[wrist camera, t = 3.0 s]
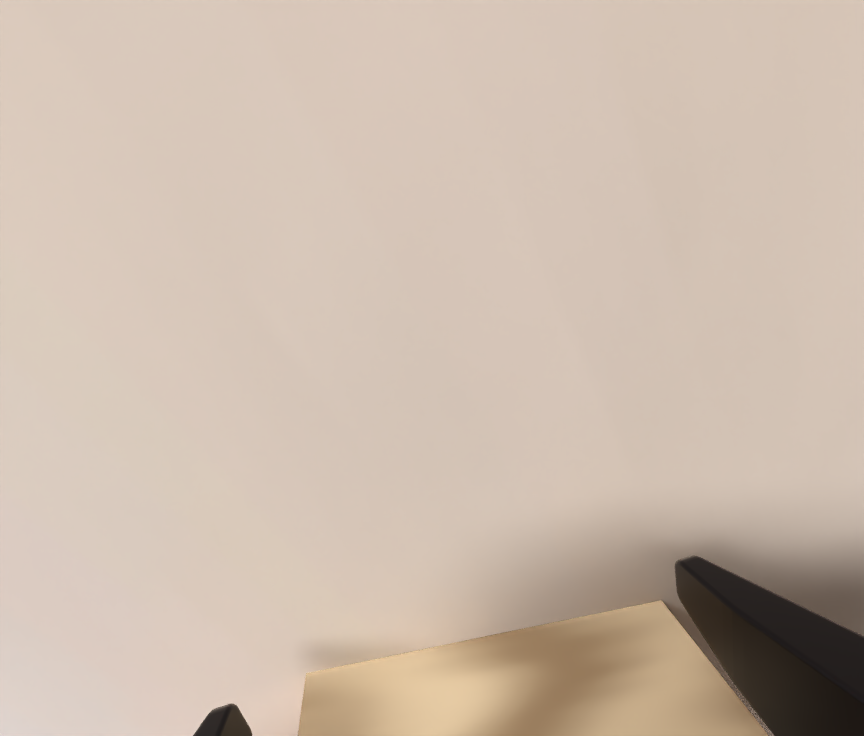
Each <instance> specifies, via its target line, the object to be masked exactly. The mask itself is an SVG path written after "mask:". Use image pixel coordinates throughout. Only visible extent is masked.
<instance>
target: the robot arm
mask: <svg viewBox="0 0 864 736" xmlns="http://www.w3.org/2000/svg"><path fill="white" fill-rule="evenodd" d="M675 574H676V586H677V593H678V596H679V599H680V601H681V603H682V604H683V606H684V607H685V609H686V610H687V612H688V614H689V615H690V617H691V618H692V620H693V621H694V623H695V624H696V626H697V627H698V629H699V631H700V632H701V634H702V635H703V637H704V638H705V640H706V641H707V643H708V644H709V646H710V647H711V649H712V651H713V652H714V654H715V655H716V657H717V658H718V660H719V661H720V663H721V664H722V666H723V667H724V669H725V670H726V672H727V673H728V675H729V676H730V678H731V679H732V681H733V682H734V684H735V685H736V686H737V688H738V689H739V690H740V692H741V693H742V694H743V696H744V697H745V698H746V700H747V701H748V702H749V703H750V705H751V706H752V707H753V709H754V710H755V711H756V712H757V714H758V715H759V716H760V718H761V719H762V720H763V721H764V723H765V724H766V725H767V727H768V728H769V729H770V730H771V732H772V733H773V734H774V736H864V636H862V635H860V634H858V633H856V632H853V631H851V630H849V629H847V628H845V627H843V626H841V625H839V624H837V623H835V622H833V621H831V620H829V619H827V618H825V617H822V616H820V615H818V614H816V613H814V612H812V611H810V610H808V609H806V608H804V607H802V606H800V605H798V604H796V603H794V602H792V601H789V600H787V599H785V598H783V597H781V596H779V595H777V594H775V593H773V592H771V591H769V590H767V589H765V588H763V587H761V586H759V585H756V584H754V583H752V582H750V581H748V580H746V579H744V578H742V577H740V576H738V575H736V574H734V573H732V572H730V571H728V570H725V569H723V568H721V567H719V566H717V565H715V564H713V563H711V562H709V561H707V560H705V559H703V558H701V557H698V556H689V557H686V558H683V559H680V560H678V561H676V563H675ZM193 736H252V732H251V729H250V727H249V726H248V724H247V722H246V720H245V719H244V717H243V715H242V714H241V712H240V710H239V708H238V707H237V706H236V705H235V704H228V705H225V706H222V707H218V708H216V709H214V710H212V711H211V712H210V713H209V714H208V715H207V717H206V718H205V720H204V721H203V722H202V724H201V725H200V727H199V728H198V730H197V731H196V732H195V734H194V735H193Z"/></svg>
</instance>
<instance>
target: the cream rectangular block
mask: <svg viewBox="0 0 864 736" xmlns="http://www.w3.org/2000/svg"><path fill="white" fill-rule="evenodd" d="M298 736H769V735H768V734H767V733H766V732H765V730H764V729H763V728H762V727H761V725H760V724H759V723H758V722H757V720H756V719H755V718H754V717H753V715H752V714H751V713H750V711H749V710H748V709H747V708H746V706H745V705H744V704H743V703H742V701H741V700H740V699H739V698H738V696H737V695H736V694H735V693H734V691H733V690H732V689H731V688H730V686H729V685H728V684H727V682H726V681H725V680H724V679H723V677H722V676H721V675H720V674H719V672H718V671H717V670H716V669H715V667H714V666H713V665H712V664H711V662H710V661H709V660H708V658H707V657H706V656H705V655H704V653H703V652H702V651H701V650H700V648H699V647H698V646H697V645H696V643H695V642H694V641H693V640H692V638H691V637H690V636H689V634H688V633H687V632H686V631H685V629H684V628H683V627H682V626H681V624H680V623H679V622H678V621H677V619H676V618H675V617H674V616H673V614H672V613H671V612H670V611H669V609H668V608H667V607H666V605H665V604H664V603H663V602H662V600H660V601H655V602H650V603H646V604H641V605H636V606H631V607H626V608H621V609H616V610H612V611H607V612H602V613H597V614H592V615H587V616H582V617H578V618H573V619H568V620H563V621H558V622H553V623H548V624H544V625H539V626H534V627H529V628H524V629H519V630H515V631H510V632H505V633H500V634H495V635H490V636H485V637H481V638H476V639H471V640H466V641H461V642H456V643H451V644H447V645H442V646H437V647H432V648H427V649H422V650H417V651H413V652H408V653H403V654H398V655H393V656H388V657H383V658H379V659H374V660H369V661H364V662H359V663H354V664H349V665H345V666H340V667H335V668H330V669H325V670H320V671H315V672H311V673H306V679H305V686H304V694H303V701H302V708H301V716H300V723H299V731H298Z"/></svg>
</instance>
